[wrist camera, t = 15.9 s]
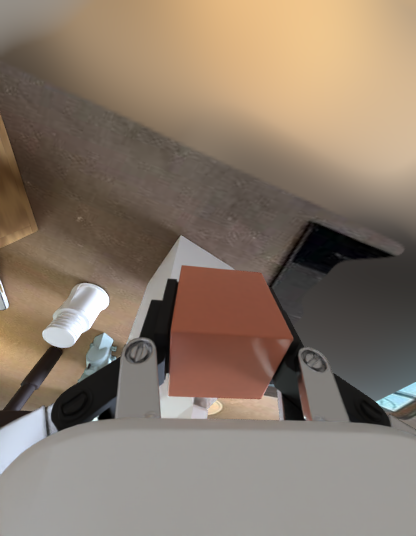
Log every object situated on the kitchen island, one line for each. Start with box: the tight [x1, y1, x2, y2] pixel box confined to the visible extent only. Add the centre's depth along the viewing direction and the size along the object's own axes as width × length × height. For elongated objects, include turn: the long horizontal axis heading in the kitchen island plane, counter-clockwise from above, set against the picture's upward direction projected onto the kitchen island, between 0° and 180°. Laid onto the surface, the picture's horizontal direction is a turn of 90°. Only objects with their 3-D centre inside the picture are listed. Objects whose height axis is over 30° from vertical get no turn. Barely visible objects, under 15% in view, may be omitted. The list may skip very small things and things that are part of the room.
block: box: [168, 265, 293, 399], centre depth 10 cm, size 5×5×5 cm
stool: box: [0, 333, 117, 428], centre depth 38 cm, size 16×21×33 cm
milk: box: [127, 235, 234, 419], centre depth 25 cm, size 12×12×26 cm
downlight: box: [42, 283, 109, 348], centre depth 34 cm, size 8×7×10 cm
